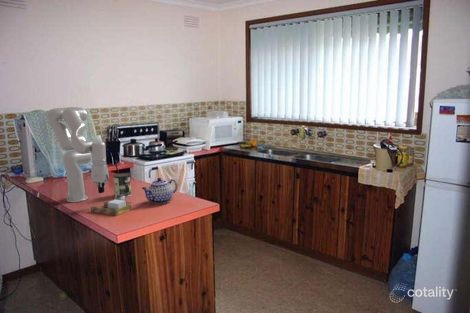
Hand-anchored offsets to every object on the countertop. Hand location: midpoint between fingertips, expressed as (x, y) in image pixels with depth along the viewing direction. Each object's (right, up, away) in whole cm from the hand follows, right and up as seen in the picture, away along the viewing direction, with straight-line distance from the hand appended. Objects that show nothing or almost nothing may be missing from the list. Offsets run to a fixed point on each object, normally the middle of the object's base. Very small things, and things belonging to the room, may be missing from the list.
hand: (101, 192), depth 224 cm
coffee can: (+6, -4, +24) cm, 25 cm away
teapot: (+34, -6, +8) cm, 36 cm away
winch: (+10, -7, +6) cm, 13 cm away
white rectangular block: (+12, -10, -8) cm, 18 cm away
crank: (+11, -2, +8) cm, 14 cm away
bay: (+8, -10, -7) cm, 14 cm away
